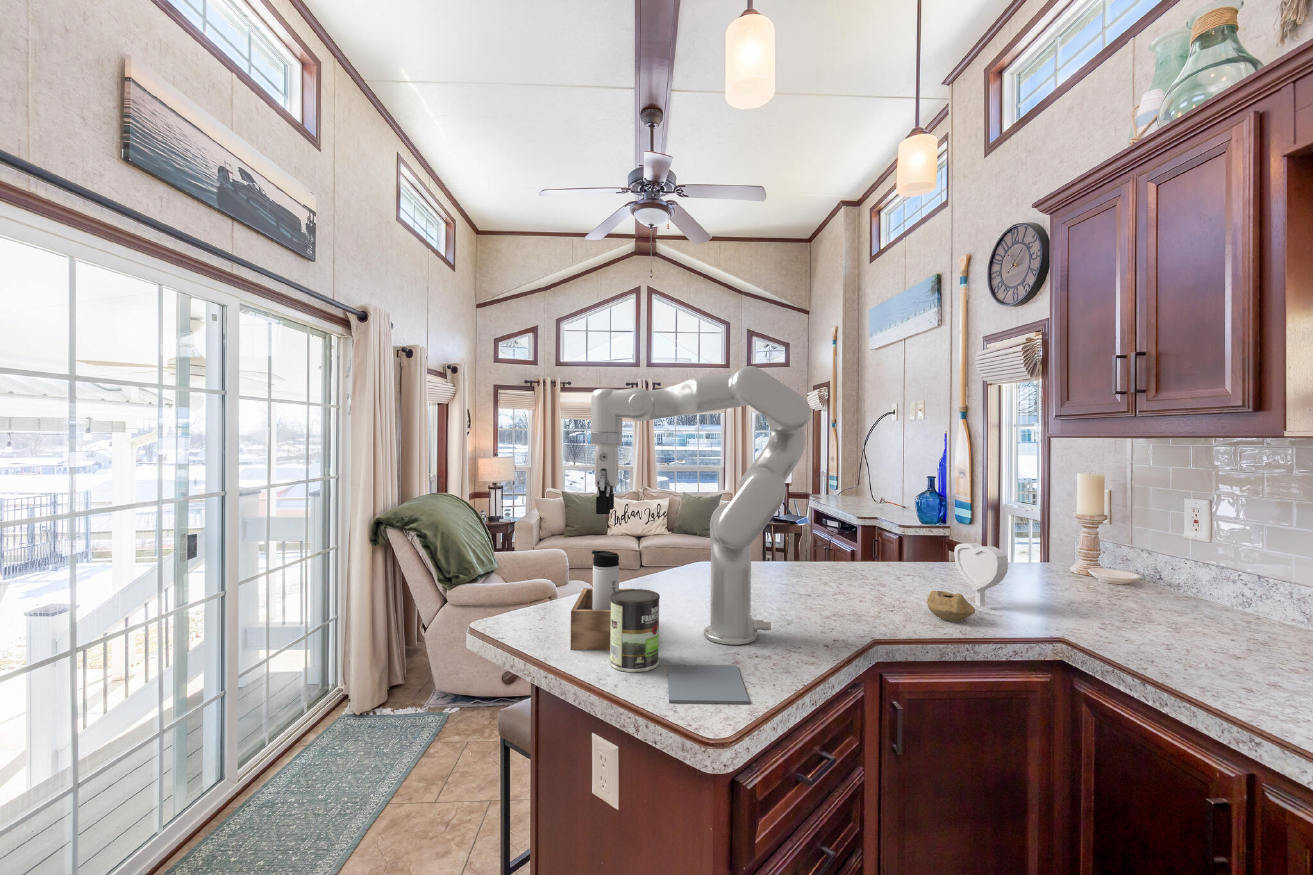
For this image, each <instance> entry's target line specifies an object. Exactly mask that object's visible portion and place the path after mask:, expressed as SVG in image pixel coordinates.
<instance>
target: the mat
mask: <svg viewBox="0 0 1313 875" xmlns="http://www.w3.org/2000/svg"><path fill="white" fill-rule="evenodd" d="M667 666H668V667H667V669H668V670H667V671H668V673H667V674H668V676H667V678H668V680H667V681H668V703H669V704H673V703H674V704H725V705H729V704H730V705H733V704H736V705H740V704H741V705H743V704H744V705H750V700H749V696H748V693H747V690H746V688H745V684H744V682H743V679H742V676H741V673H740V670H739V667H738V665H737V664H726V665H725V664H675V663H674V664H671V663H670V664H667Z"/></svg>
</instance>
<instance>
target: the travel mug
mask: <svg viewBox="0 0 1313 875" xmlns="http://www.w3.org/2000/svg"><path fill="white" fill-rule="evenodd" d="M591 555H593V558H592V559H593V560H592V561H593V562H592V588H593V606H592V610H611V599H610V595H611V594H612V593H613V592H616V591H619V589H620V568H619V567H620V562H619V561H620V555H619V554H618V553H617V552H614V551H608V550H595V549H593V550H591Z"/></svg>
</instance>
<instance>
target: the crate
mask: <svg viewBox="0 0 1313 875" xmlns="http://www.w3.org/2000/svg"><path fill="white" fill-rule="evenodd" d="M626 589H627V588H619V591H620V590H626ZM592 606H593V587H592V588H591V587H589V588H588V587H587V588H586V587H584V588H583V589H582V591H581V593H580V594H579V595H578V598H577V600H576V601H575V603H574V605H573V606H572V608H571V610H570V647H569V648H570V650H571V651H574V650H575V651H577V650H578V651H582V650H583V651H587V650H588V651H610V637H611V610H592Z"/></svg>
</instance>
